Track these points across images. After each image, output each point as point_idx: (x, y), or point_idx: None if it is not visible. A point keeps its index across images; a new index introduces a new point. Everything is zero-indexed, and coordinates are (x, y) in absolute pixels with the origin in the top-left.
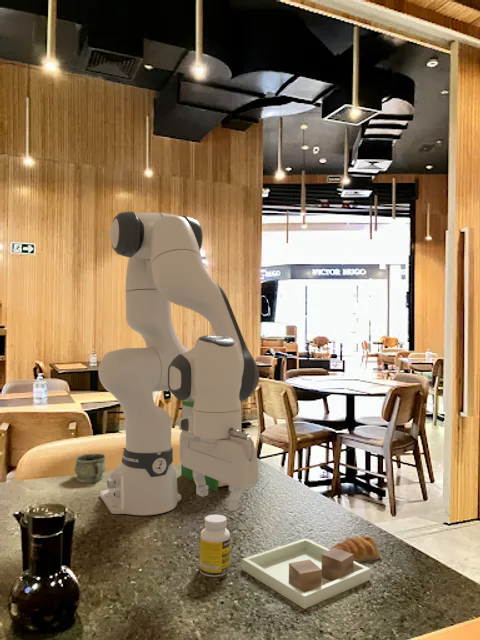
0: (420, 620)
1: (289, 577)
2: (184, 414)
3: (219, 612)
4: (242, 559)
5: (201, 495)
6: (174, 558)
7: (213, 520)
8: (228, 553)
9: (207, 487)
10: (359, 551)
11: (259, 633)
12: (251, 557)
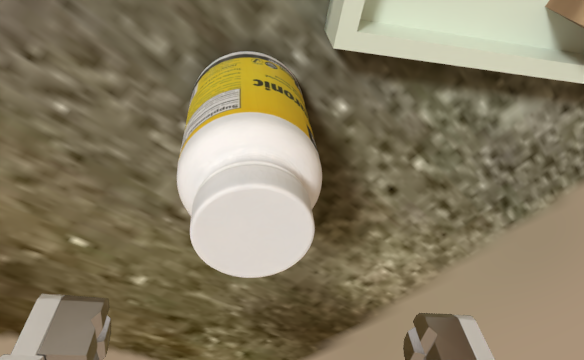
0: None
1: (572, 20)
2: None
3: (414, 219)
4: (333, 47)
5: (108, 337)
6: (56, 134)
7: (269, 258)
8: (308, 119)
9: (91, 351)
10: None
11: (539, 209)
12: (356, 8)
